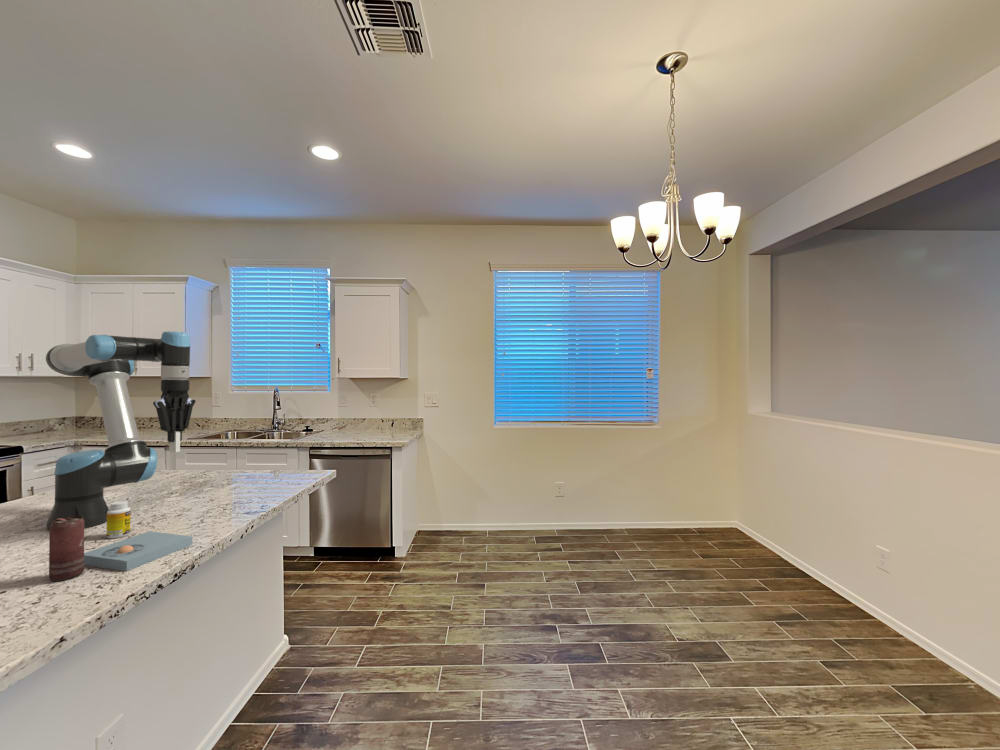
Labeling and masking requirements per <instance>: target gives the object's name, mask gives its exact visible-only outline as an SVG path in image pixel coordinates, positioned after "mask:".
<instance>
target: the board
mask: <svg viewBox="0 0 1000 750" xmlns="http://www.w3.org/2000/svg"><path fill="white" fill-rule="evenodd" d="M126 545H129V546H132V547H133V548H134V550H132V551H130V552H126V553H122V554H117V551H118V550H119V549H120V548H121V547H123V546H126ZM190 546H193V536H192V535H184V534H176V533H169V532H167V533H166V532H159V531H146V532H142V533H140V534H138V535H134V536H131V537H128V538H125V539H122V540H119V541H116V542H112V543H109V544H107V545H105V546H101V547H99V548H95V549H92V550H90V551H89V550H88V551H86V552H84V566H90V567H97V568H103V569H108V570H115V571H116V570H118V571H124V572H128V571H130V570H133V569H135V568H138V567H141V566H144V565H145V564H147V563H150V562H151V563H152V562H154V561H155V560H158V559H161V558H163V557H165V556H168V555H171V554H173V553H176V552H179V551H180V550H183V549H185V548H188V547H190Z"/></svg>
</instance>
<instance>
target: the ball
mask: <svg viewBox="0 0 1000 750" xmlns="http://www.w3.org/2000/svg"><path fill="white" fill-rule="evenodd" d="M132 550H134V548H133V547H132V546H129V545H126V546H123V547H121V548H120V549H119V550H118V551H117V554H122V553H126V552H130V551H132Z"/></svg>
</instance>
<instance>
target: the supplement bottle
mask: <svg viewBox="0 0 1000 750" xmlns="http://www.w3.org/2000/svg"><path fill="white" fill-rule="evenodd" d="M131 512H132V510H131V507H129V503H128V500H119V501H118V500H117V501H113V502H111V503H110V508H109V510H108V511H107V521H106V537H107V539H119V538H124V537H126V536H129V535H130V534H131V514H132V513H131Z"/></svg>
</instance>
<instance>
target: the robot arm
mask: <svg viewBox="0 0 1000 750" xmlns="http://www.w3.org/2000/svg"><path fill="white" fill-rule="evenodd" d="M190 337H191V336H190V334H189V333H188V332H184V331H163V332H162V334H161V336H160V338H152V337H151V338H150V337H148V338H147V337H135V336H134V337H133V336H119V335H107V334H92V335H89V336H88V338H87V339H86V340H85V341H83V342H79V343H76V344H75V343H74V344H73V343H62V344H58V345H55V346H53V347H52V348H51V349H49V350H48V351H47V353H46V355H45V362H46V364H47V366H48V367H49V368H50V369H51V370H52V371H54V372H56V373H58V374H61V375H63V376H69V377H84V378H85V377H86V378H87V379H88V383H89V384H91V385H92V386H94V387H96V392H97V397H98V401H99V405H100V410H101V414H102V415H101V416H102V419H103V424H104V429H105V433H106V437H107V442H108V445H107V447H106V448H105V449H91V450H83V451H77V452H73V453H70V454H69V453H68V454H66V455H63V456H61V457H59V458H58V459H57V460H56V462H55V468H54V505H53V507H52V509H51V511H50V515H49V516H48V518H47V521H46V530H48V531H50V525H51V523H52V521H54V520H56V519H58V518H65V517H72V516H81V517H83V519H84V529H86V527H87V528H90V527H94V525H95V526H99V525H101V523H102V524H103V522H104V523H106V522H107V511H108V510H110V508H109V506H108V504H107V502H106V500H105V498H104V489H105V488H109V487H115V486H121V485H126V484H128V485H129V484H134V483H135V484H136V483H138V482H143V481H147V480H149V479H151V478H152V477H153V476H154V474H155V472H156V470H157V466H158V454H157V450H155V448H153V447H147V443H146V441H145V440H144V439H140V435H139V431H138V427H137V423H136V419H135V414H134V409H133V406H132V403H131V398H130V394H129V389H128V385H127V381H129V380H130V378H131V376H132V374H133V373H134V370H135V361H139V362H152V363H153V362H156V363H158V362H160V378H161V381H160V391H161V392H162V393H161V395H160V398H159V400H157V401H155V400H154V401H153V402H152V405H153V406H154V408H155V410H156V413H157V417H158V421H159V426H160V430H161V431H163V432H166V434H167V439H166V440H167V442H168V452H169V453H180V452H181V441H182V439H183V432H185V431H186V429H188V428H189V426H190V420H191V417H192V413H193V407H194V405H195V404H196V399H192V398H190V395H189V391H190V380H189V378H190V375H191V374H190V371H191V370H190V363H191V361H190V360H191V341H190V340H191V339H190ZM105 521H106V522H105ZM98 524H99V525H98Z"/></svg>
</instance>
